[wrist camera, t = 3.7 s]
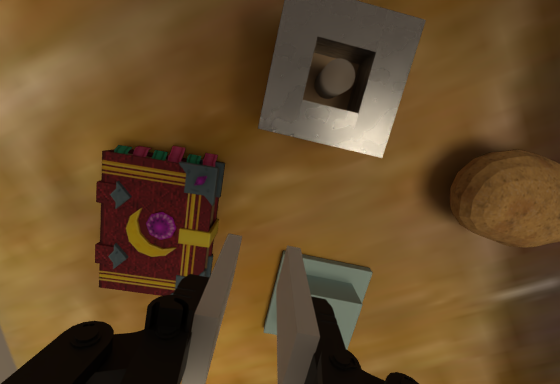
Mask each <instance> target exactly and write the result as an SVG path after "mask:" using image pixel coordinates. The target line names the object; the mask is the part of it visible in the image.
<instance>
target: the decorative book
mask: <svg viewBox="0 0 560 384" xmlns="http://www.w3.org/2000/svg"><path fill="white" fill-rule="evenodd" d="M131 148H132V147H128V146H122V145H118V146H117V147H116V148H115V149H114V150H106V151H102V180H101V181H98V182H97V191H96V202H99V203H101V228H100V242H99V243H97V244H95V263H100V269H99V287H101V288H109V289H116V290H123V291H131V292H138V293H146V294H153V295H160V296H165V295H173V293H174V291H175V290H176V288H177V286H178V285H179V283H180V281H181V280H182V279H183V278H185V277H186V276H188V275H189V274H194V275H199V276H204V277H209V278H210V276H211V269H212V260H213V254H212V248H213V240H214V237H215V236H216V234H217V231H218V223H219V219H216V217H217V209H218V201H219V198H220V196H221V190H222V182H223V175H224V167H225V163H221V162H216V159H217V156H218V155H215V154H209V153H205V157H204V159H203V160H202V159H201V156H198V155H192V154H189V155H188V158H187V159H186V158H182V157H183V155H184V151H185V148H184V147H178V146H173V147H172V150H171V153H170V154H169V156H168V155H167V153H168V152H164V151H158V150H155V151H154V153H150V152H148V150H149V149H151V148H148V147H142V146H138V147H136V148H135V150H132V149H131Z"/></svg>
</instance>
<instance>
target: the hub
mask: <svg viewBox="0 0 560 384" xmlns="http://www.w3.org/2000/svg"><path fill="white" fill-rule="evenodd" d="M285 252H286V251H284V250H283V254H282V258H281V262H280V266H279V270H278V274H277V278H276V282H275V285H274V289H273V293H272V297H271V301H270V305H269V309H268V313H267V317H266V321H265V325H264V333H270V334H275V335H277V307H276V287H277V283H278V279H279V276H280V272H281V268H282V264H283V260H284V256H285ZM302 258H303V262H304V267H305V271H306V276H307V280H308V285H309V289H310V294H311V296H312V297H317V298H323V299H326V300H327V301H328V303H329V304H330V305H331V306H332V308H333V311H334V314H335V317H336V320H337V325H338V326H339V329H340V332H341V335H342V338H343V341H344V344H345V347H346V350H347V348H348V346H349V343H350V340H351V337H352V334H353V331H354V328H355V325H356V322H357V319H358V316H359V313H360V310H361V308H362V302H363V299H364V296H365V293H366V290H367V287H368V284H369V281H370V278H371V275H372V271H371V269H370V268H367V267H362V266H357V265H352V264H347V263H342V262H337V261H333V260H328V259H323V258H318V257H313V256H308V255H303V254H302Z"/></svg>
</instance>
